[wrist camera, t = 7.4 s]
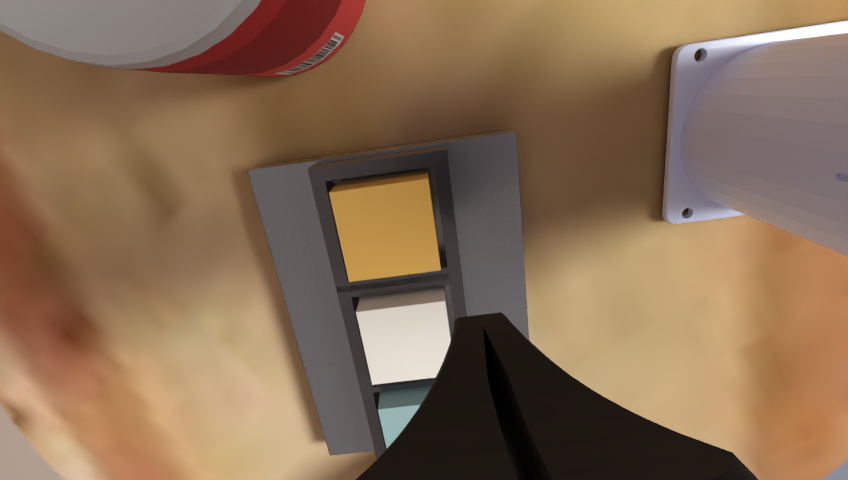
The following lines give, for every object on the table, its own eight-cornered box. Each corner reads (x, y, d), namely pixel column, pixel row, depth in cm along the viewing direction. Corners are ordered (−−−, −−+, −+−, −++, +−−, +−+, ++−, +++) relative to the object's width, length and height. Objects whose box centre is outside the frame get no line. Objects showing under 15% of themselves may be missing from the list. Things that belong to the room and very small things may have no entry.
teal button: (456, 373, 22) (459, 400, 20) (464, 431, 24) (467, 461, 22) (381, 382, 22) (377, 409, 21) (393, 439, 24) (391, 469, 22)
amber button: (427, 168, 18) (428, 178, 17) (439, 252, 20) (440, 270, 18) (338, 181, 19) (328, 192, 17) (356, 263, 20) (349, 281, 18)
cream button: (443, 281, 20) (445, 301, 18) (452, 349, 22) (455, 375, 20) (361, 291, 20) (355, 312, 19) (376, 359, 22) (372, 384, 20)
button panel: (510, 129, 19) (523, 135, 17) (529, 417, 25) (541, 453, 23) (257, 165, 20) (234, 177, 17) (334, 439, 26) (324, 476, 23)
